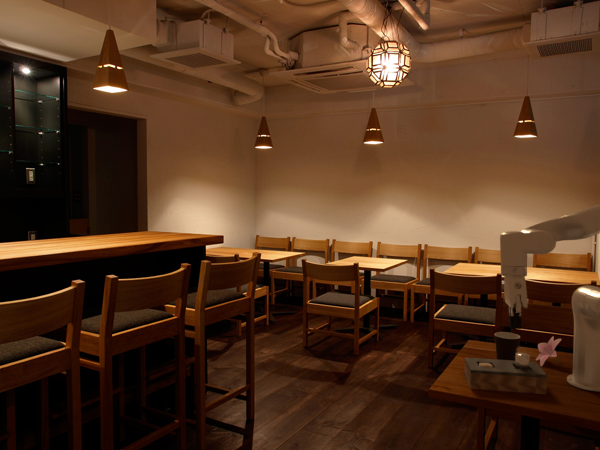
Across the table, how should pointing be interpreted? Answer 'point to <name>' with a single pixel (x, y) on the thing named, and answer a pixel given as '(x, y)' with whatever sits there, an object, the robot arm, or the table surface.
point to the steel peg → (522, 361)
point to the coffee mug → (506, 345)
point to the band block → (505, 376)
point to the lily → (547, 350)
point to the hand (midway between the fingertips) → (515, 327)
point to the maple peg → (485, 365)
